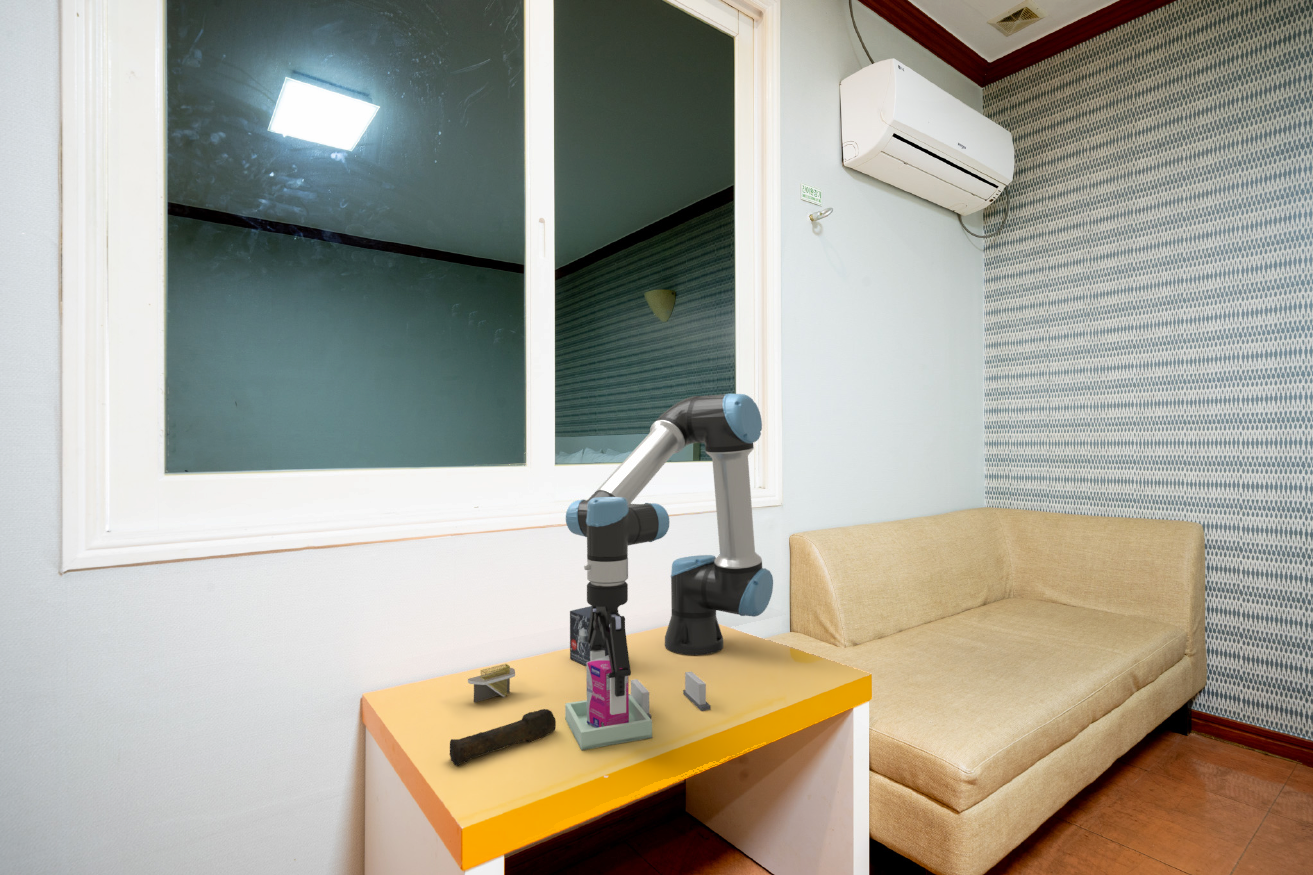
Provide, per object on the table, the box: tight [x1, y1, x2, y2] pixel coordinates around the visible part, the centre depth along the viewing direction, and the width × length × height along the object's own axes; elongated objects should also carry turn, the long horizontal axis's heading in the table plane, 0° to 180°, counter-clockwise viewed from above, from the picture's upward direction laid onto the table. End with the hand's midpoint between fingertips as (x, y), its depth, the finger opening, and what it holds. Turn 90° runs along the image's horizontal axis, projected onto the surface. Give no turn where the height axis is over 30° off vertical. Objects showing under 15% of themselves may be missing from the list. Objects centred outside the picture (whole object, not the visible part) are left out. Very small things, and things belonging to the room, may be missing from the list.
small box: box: [569, 605, 608, 667], centre depth 146 cm, size 13×7×12 cm, turn 42°
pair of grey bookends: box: [630, 671, 712, 720], centre depth 122 cm, size 14×9×5 cm, turn 111°
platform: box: [467, 663, 516, 703], centre depth 126 cm, size 12×18×7 cm, turn 131°
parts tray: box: [564, 693, 653, 751], centre depth 112 cm, size 13×13×3 cm
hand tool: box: [449, 708, 557, 767], centre depth 105 cm, size 19×4×5 cm, turn 126°
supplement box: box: [585, 655, 630, 728], centre depth 112 cm, size 6×6×12 cm
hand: (607, 698), depth 112 cm, fingers open, 13 cm apart
